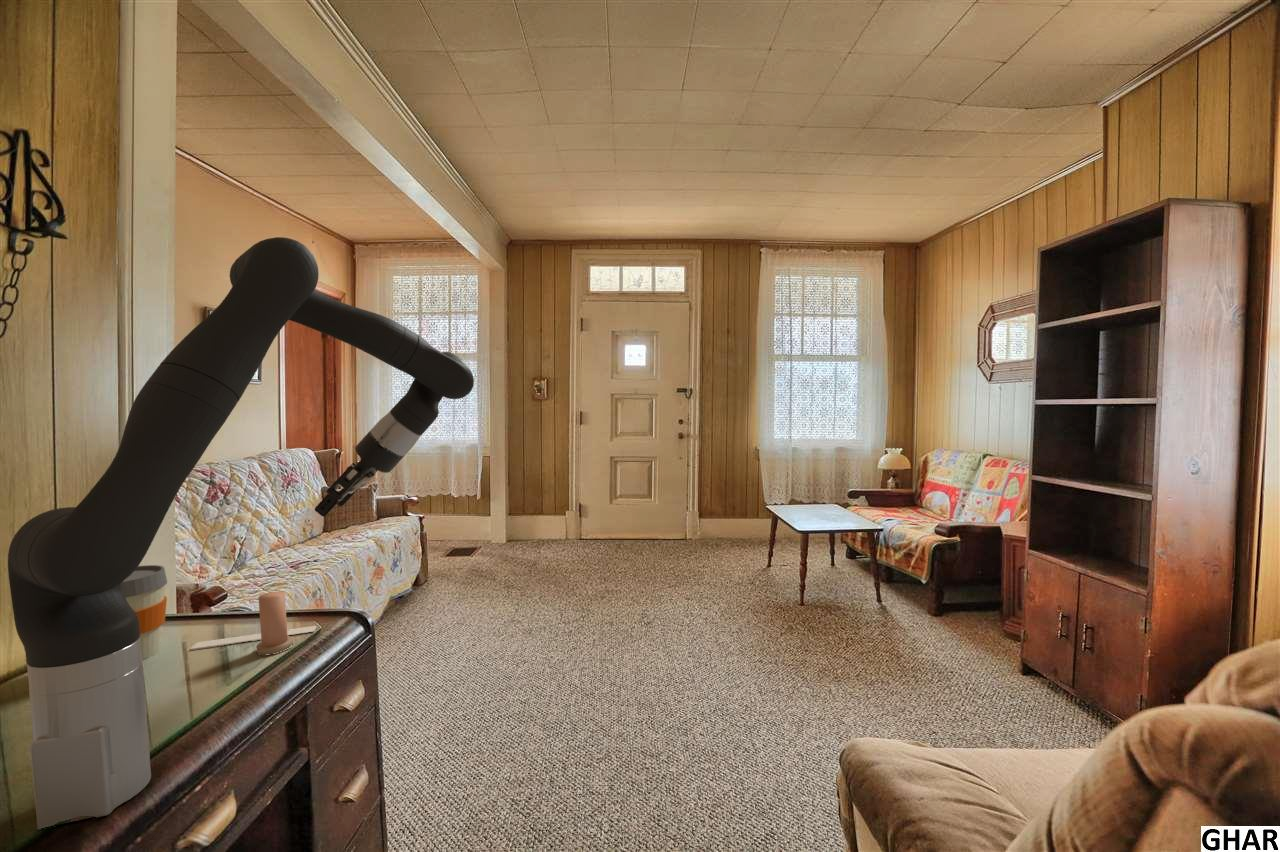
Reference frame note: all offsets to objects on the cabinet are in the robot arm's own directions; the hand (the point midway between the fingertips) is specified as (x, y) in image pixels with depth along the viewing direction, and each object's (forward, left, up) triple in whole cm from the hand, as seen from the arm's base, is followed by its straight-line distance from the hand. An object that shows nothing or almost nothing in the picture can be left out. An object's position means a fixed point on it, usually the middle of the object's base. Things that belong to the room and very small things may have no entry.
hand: (328, 508), depth 104 cm
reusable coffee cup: (+9, +35, -26) cm, 45 cm away
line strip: (+9, +15, -25) cm, 31 cm away
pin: (+2, +10, -25) cm, 28 cm away
